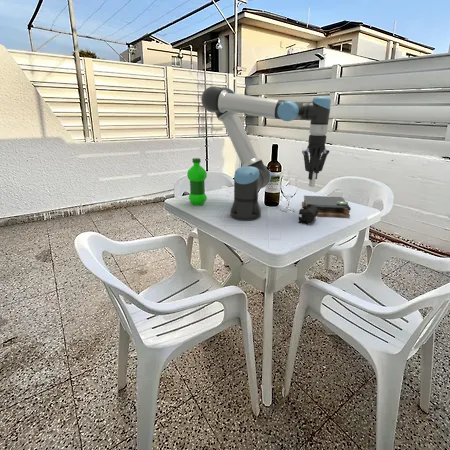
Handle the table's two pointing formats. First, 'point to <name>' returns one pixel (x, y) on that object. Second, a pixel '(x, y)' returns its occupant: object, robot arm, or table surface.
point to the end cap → (307, 214)
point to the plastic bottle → (197, 183)
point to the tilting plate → (326, 201)
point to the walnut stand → (331, 211)
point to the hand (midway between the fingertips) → (311, 186)
